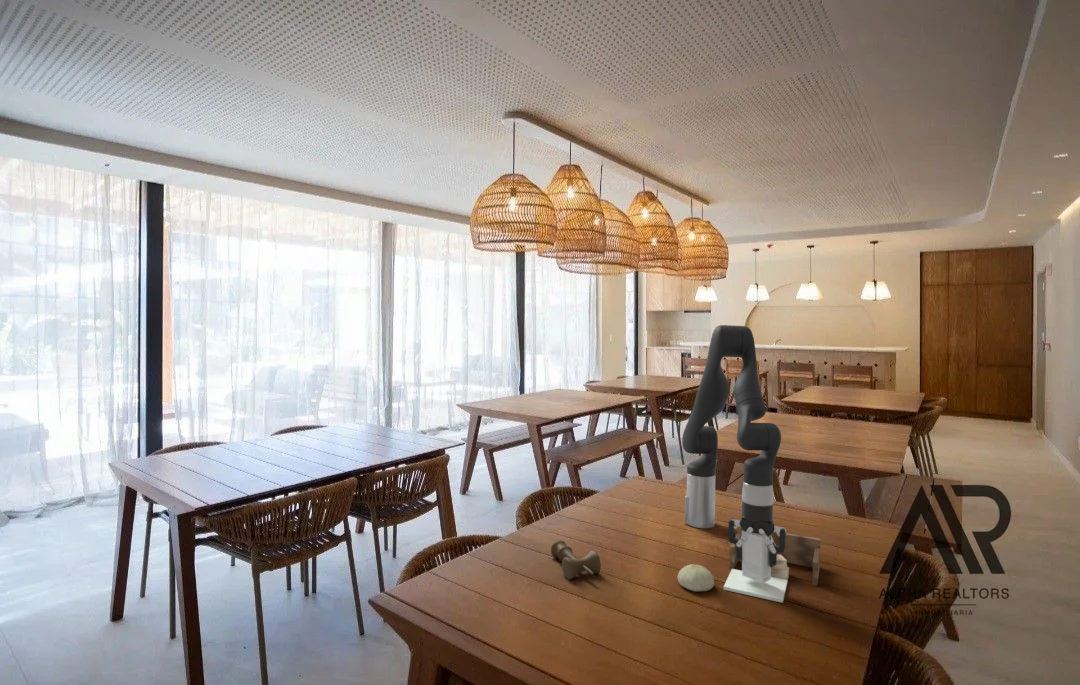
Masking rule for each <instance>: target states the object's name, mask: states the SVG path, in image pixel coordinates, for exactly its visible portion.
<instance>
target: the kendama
mask: <svg viewBox="0 0 1080 685" xmlns="http://www.w3.org/2000/svg"><path fill="white" fill-rule="evenodd" d="M550 554H551V556H552V557H553V558H556V559H559V561H561V570H562V573H563V576H564V577H565V578H566V579H568V580H573V579H574V578H575V577H576V575H578V574H579V573H582V572H586V573H588V574H590V575H592V576H593V575H595V574H596V575H598V574H600V572H601V568H602V567H601V566H602V565H601V564H602V562H601V559H600V555H599V554H598V552H596V551H595V550H590V551H589V552H587V554H586V555H585V556H584V557H582V558H579V559H578V558H577V557H576V556H575V555H574V554H573V549H572V547H571V546H568V545H567V544H566V542H565V541H564V540H556V541H554V542H553V543H552V545H551V548H550Z"/></svg>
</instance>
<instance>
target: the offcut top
mask: <svg viewBox="0 0 1080 685" xmlns="http://www.w3.org/2000/svg"><path fill="white" fill-rule="evenodd" d="M787 567H788V563H787V560H786V559H785V558H784V557H783V556H782V555H777V562H776V565H775V566H773V568H772V567H771V570H787Z"/></svg>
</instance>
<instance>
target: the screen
mask: <svg viewBox="0 0 1080 685" xmlns="http://www.w3.org/2000/svg"><path fill="white" fill-rule="evenodd" d="M736 529H737V530H736V533H735V538H737V539H739V538H740V537H741V536H742V531H743V529H742V528H741V526H740V525H738V527H737V528H736ZM771 537H772V538H773V541H774V543H775V545H776V546H779V539H780V536H778V535H777V533H776V531H773V532H772V534H771ZM777 555H782V556H783V557H784V558H785V559H786V560H787V564H794V565H798V566H799V565H800V566H804V567H808V568H812V586H816V587H817V586H818V585H819V578H820V577H819V576H820V575H819V574H820V569H821V568H820V567H821V538H818V537H812V536H806V535H802V534H801V535H799V534H793V533H788V532H786V539H785V549H784V552H783V553H781V552H778V553H777ZM738 561H739V558H737V557H736V545H735V544H733V543H730V545H729V569H731V570H732V569H735V568H736V566H737V563H738Z"/></svg>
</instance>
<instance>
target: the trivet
mask: <svg viewBox="0 0 1080 685" xmlns="http://www.w3.org/2000/svg"><path fill="white" fill-rule="evenodd" d="M788 581H789V579H788V580H785V579H780V578H775V577H771V579H770V580H769V581H767V582H765V583H761V582H758V581H755V580H753V579H750V578H747V577H745V576H742V569H741V570H740V569H735V568H734V569H732V568H731V570H730V572H729V574H728V577H727V578H726V581H725V583H724V585H723V591H728V592H732V593H737V594H742V595H745V596H751V597H755V598H760V599H765V600H769V601H773V602H778V603H782V604H783V603H784V599H785V596H786V591H787V586H788Z"/></svg>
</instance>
